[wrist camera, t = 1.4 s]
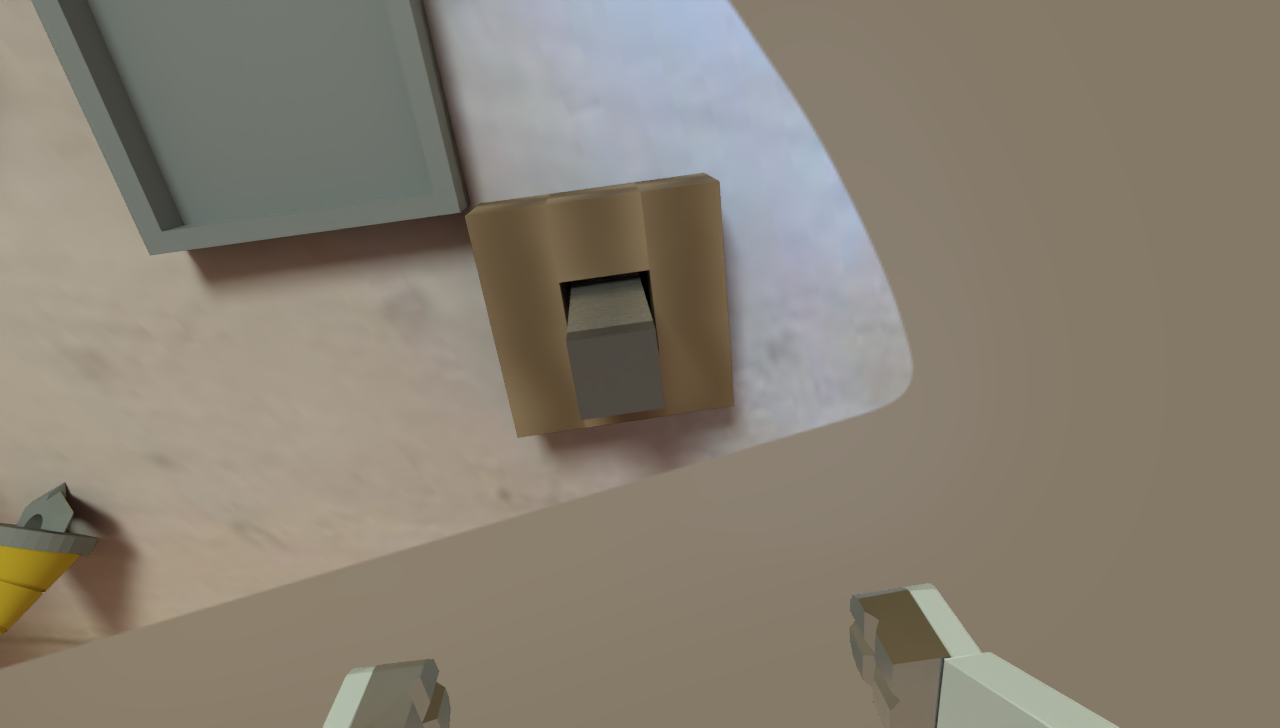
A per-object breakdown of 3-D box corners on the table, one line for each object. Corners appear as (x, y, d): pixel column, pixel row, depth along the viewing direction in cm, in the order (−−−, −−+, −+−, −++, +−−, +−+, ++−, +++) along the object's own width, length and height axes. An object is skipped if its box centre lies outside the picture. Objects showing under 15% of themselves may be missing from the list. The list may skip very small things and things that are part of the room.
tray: (182, 244, 31) (149, 255, 28) (27, -111, 25) (-32, -134, 22) (469, 205, 31) (460, 212, 29) (385, -155, 25) (365, -182, 23)
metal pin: (582, 329, 34) (580, 420, 24) (572, 270, 33) (565, 341, 23) (642, 320, 34) (665, 407, 24) (634, 261, 33) (655, 328, 23)
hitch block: (525, 404, 36) (517, 437, 32) (479, 203, 31) (464, 216, 27) (719, 375, 36) (734, 405, 32) (704, 172, 31) (719, 181, 28)
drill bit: (139, 495, 37) (56, 672, 33) (90, 487, 39) (7, 654, 35) (34, 475, 32) (-75, 678, 28) (-15, 468, 34) (-123, 657, 31)
